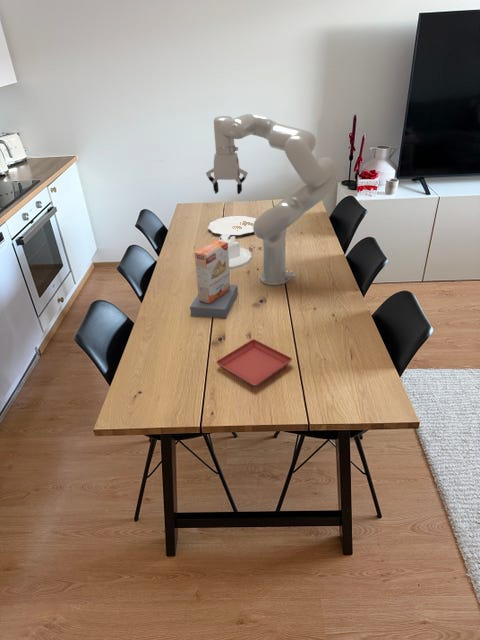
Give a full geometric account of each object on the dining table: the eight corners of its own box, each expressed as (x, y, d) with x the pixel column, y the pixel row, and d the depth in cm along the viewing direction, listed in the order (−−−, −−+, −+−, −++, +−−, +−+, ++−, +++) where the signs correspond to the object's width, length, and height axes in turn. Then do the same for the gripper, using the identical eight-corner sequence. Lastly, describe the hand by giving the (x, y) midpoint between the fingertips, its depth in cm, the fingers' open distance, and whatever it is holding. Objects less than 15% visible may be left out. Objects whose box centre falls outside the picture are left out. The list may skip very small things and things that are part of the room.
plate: (200, 226, 268) (200, 222, 267) (247, 216, 278) (247, 212, 277) (220, 243, 245) (220, 238, 244) (270, 232, 255) (270, 227, 254)
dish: (218, 245, 243) (216, 224, 237) (260, 253, 231) (260, 231, 225) (190, 264, 225) (187, 242, 219) (234, 274, 214) (233, 250, 208)
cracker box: (210, 304, 182) (205, 255, 171) (198, 301, 185) (193, 251, 174) (231, 289, 192) (228, 241, 181) (219, 286, 195) (215, 239, 184)
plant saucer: (215, 369, 155) (214, 361, 153) (253, 345, 165) (253, 337, 163) (255, 393, 143) (254, 385, 142) (293, 366, 154) (293, 358, 152)
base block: (237, 293, 197) (237, 285, 195) (225, 318, 181) (225, 309, 179) (205, 291, 200) (204, 283, 198) (191, 315, 184) (190, 306, 182)
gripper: (248, 148, 188) (250, 190, 197) (207, 148, 192) (210, 189, 201) (244, 152, 182) (246, 196, 191) (201, 152, 186) (205, 195, 195)
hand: (227, 192), depth 196 cm, fingers open, 9 cm apart
